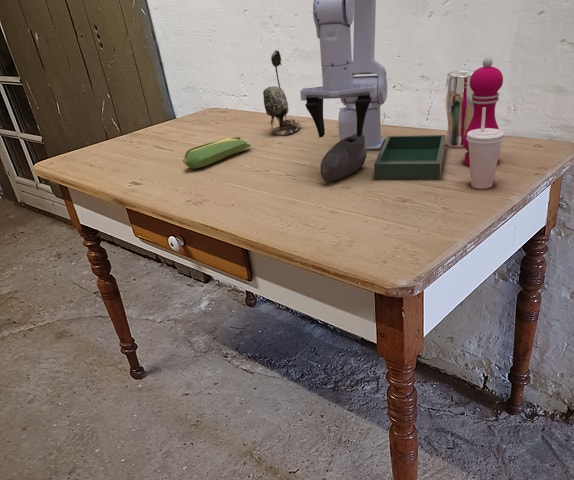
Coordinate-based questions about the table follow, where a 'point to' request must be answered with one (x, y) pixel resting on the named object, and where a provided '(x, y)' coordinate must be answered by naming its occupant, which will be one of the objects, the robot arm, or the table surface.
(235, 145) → the edible corn
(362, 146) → the perforated stone tool
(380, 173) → the dish
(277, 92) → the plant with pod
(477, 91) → the pepper mill
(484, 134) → the smoothie
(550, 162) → the table surface
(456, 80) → the beer glass
